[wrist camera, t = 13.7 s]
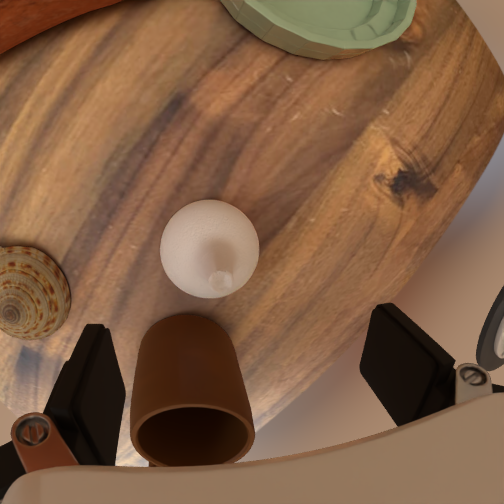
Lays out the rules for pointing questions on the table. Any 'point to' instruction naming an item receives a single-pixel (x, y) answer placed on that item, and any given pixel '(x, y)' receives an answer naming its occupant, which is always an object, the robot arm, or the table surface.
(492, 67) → the table surface
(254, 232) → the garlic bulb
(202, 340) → the mug
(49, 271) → the seashell
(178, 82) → the table surface
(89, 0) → the bread
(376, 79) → the table surface
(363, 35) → the bowl
